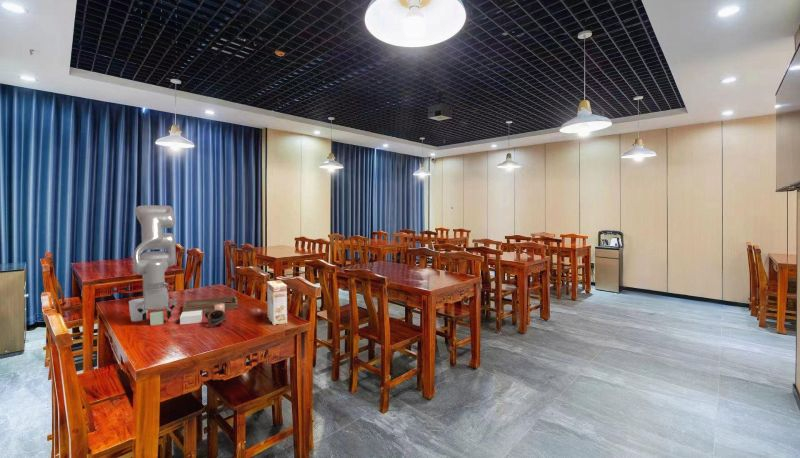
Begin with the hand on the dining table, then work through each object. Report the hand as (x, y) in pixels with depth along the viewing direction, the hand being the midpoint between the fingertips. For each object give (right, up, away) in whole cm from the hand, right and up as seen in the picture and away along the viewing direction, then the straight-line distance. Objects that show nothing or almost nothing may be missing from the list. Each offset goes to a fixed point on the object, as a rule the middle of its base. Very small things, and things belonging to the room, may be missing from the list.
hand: (157, 319), depth 179 cm
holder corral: (+13, 0, +27) cm, 30 cm away
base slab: (+15, -2, +5) cm, 15 cm away
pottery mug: (+30, -2, -1) cm, 30 cm away
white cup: (-13, -2, +6) cm, 14 cm away
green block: (0, -2, 0) cm, 2 cm away
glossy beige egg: (+23, -1, +17) cm, 28 cm away
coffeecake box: (+58, -2, +6) cm, 58 cm away
